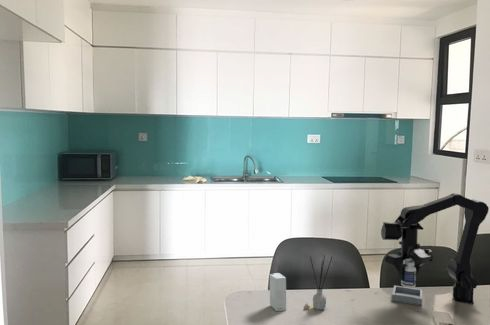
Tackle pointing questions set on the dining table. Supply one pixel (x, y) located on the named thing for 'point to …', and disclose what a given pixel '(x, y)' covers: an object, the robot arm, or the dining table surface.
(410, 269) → the pill bottle
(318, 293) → the reed diffuser
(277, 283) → the skincare box
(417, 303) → the tray
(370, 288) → the dining table surface
